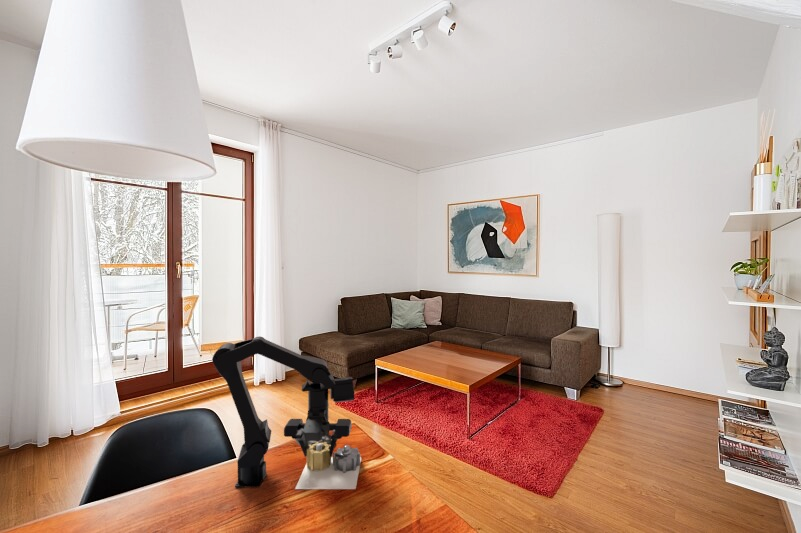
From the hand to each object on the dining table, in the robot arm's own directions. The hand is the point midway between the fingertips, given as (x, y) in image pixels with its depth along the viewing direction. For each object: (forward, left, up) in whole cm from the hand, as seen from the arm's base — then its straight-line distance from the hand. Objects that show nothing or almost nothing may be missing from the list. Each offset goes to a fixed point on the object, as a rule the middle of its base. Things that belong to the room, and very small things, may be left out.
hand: (318, 455), depth 107 cm
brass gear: (0, 0, -3) cm, 3 cm away
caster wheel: (-3, +12, -4) cm, 13 cm away
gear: (+8, 0, -3) cm, 9 cm away
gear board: (+4, -4, -4) cm, 7 cm away
